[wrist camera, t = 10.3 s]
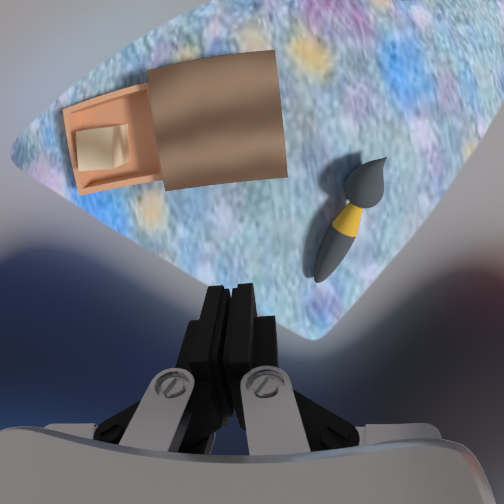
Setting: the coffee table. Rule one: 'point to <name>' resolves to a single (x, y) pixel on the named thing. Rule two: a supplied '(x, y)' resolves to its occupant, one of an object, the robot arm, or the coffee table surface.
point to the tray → (139, 138)
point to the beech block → (102, 147)
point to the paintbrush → (350, 216)
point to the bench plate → (218, 120)
